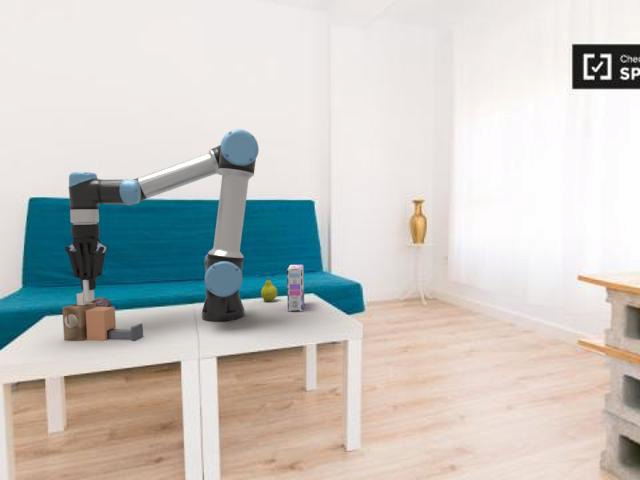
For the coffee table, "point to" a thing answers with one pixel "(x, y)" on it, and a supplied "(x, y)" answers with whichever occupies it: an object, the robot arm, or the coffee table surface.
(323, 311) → the coffee table surface
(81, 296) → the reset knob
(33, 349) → the coffee table surface
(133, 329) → the rail
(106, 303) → the rock
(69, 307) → the cabinet
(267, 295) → the fruit
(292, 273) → the candy box
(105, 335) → the block
